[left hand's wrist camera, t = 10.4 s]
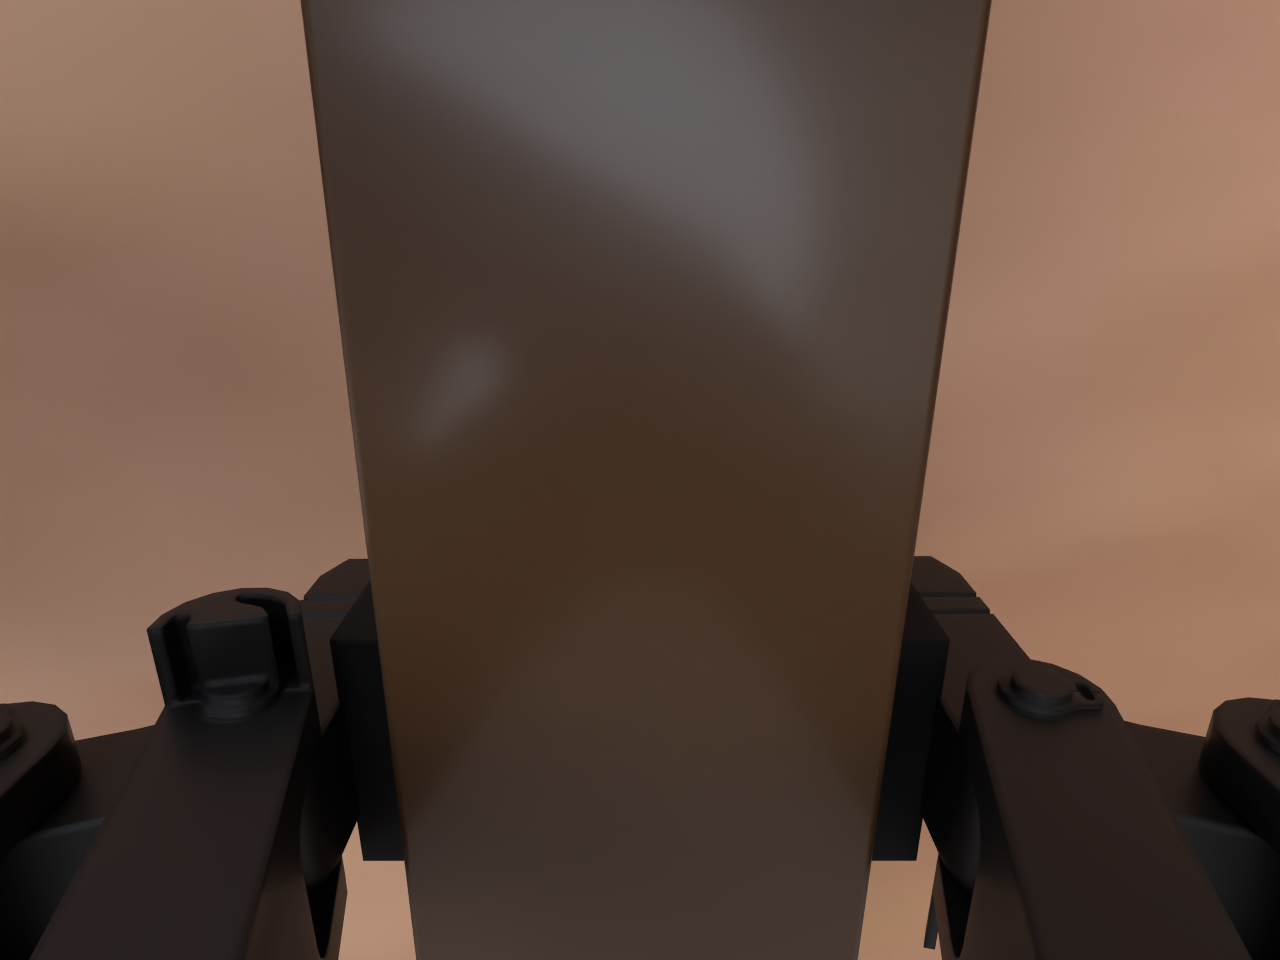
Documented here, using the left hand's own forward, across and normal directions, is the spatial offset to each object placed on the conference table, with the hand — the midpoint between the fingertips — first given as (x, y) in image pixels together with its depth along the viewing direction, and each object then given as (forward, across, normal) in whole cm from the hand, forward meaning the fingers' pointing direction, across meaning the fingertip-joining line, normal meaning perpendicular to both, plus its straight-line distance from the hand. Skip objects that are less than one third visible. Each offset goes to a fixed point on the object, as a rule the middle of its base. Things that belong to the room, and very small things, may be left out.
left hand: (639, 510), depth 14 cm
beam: (+1, 0, -20) cm, 20 cm away
